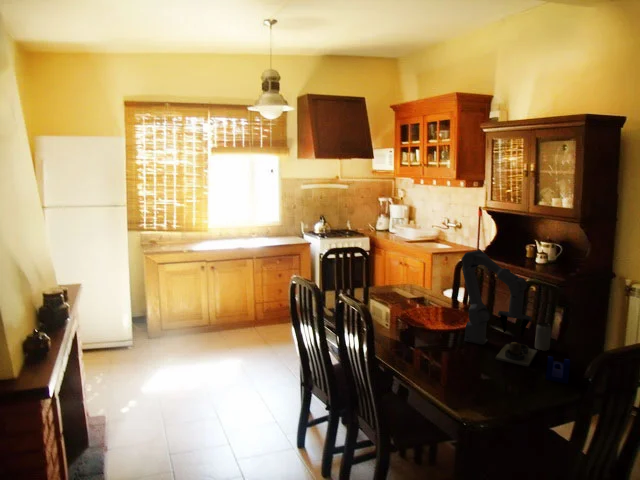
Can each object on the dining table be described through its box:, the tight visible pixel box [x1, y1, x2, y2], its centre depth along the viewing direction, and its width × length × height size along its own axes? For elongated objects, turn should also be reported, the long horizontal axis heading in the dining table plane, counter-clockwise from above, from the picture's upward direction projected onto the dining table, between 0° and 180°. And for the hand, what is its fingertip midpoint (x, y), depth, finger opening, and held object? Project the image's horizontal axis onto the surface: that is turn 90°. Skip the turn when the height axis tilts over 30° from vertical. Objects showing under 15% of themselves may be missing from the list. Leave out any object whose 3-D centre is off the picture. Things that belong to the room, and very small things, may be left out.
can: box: [534, 321, 552, 352], centre depth 250 cm, size 6×6×12 cm
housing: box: [495, 343, 538, 367], centre depth 241 cm, size 14×20×3 cm
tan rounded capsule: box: [509, 341, 522, 355], centre depth 237 cm, size 4×4×6 cm
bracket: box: [545, 355, 571, 385], centre depth 223 cm, size 18×8×9 cm, turn 155°
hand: (513, 333), depth 243 cm, fingers open, 7 cm apart
